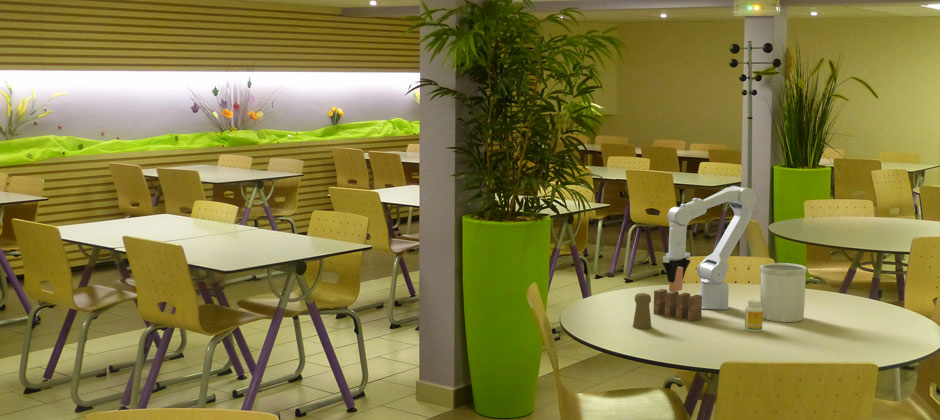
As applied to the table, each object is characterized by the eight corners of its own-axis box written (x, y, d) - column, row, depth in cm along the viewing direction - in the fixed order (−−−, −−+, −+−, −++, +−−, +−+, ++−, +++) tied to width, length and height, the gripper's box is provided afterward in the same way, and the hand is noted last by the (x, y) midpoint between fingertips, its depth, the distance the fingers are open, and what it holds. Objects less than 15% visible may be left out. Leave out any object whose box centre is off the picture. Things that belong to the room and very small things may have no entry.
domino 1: (666, 312, 339) (667, 289, 338) (658, 314, 335) (659, 291, 334) (661, 311, 340) (662, 288, 339) (653, 314, 337) (654, 290, 336)
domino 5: (701, 319, 329) (702, 295, 328) (693, 321, 326) (694, 297, 325) (696, 318, 331) (696, 294, 330) (688, 320, 327) (688, 296, 326)
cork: (652, 325, 320) (653, 292, 319) (650, 330, 314) (651, 296, 313) (634, 324, 322) (635, 291, 321) (631, 328, 316) (631, 294, 315)
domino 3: (677, 314, 336) (678, 291, 335) (669, 317, 332) (670, 293, 331) (672, 313, 337) (673, 290, 336) (664, 316, 333) (665, 292, 332)
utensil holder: (750, 317, 331) (752, 266, 329) (770, 310, 342) (772, 260, 340) (792, 325, 321) (794, 272, 319) (811, 317, 332) (814, 266, 330)
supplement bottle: (741, 328, 316) (742, 299, 315) (755, 327, 318) (756, 298, 317) (751, 332, 311) (752, 302, 310) (765, 331, 313) (766, 301, 312)
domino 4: (689, 316, 333) (690, 293, 332) (681, 319, 329) (682, 295, 328) (684, 315, 334) (685, 292, 333) (676, 318, 330) (677, 294, 329)
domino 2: (682, 289, 342) (683, 267, 341) (674, 291, 339) (675, 268, 338) (677, 289, 344) (678, 266, 343) (669, 290, 340) (670, 267, 339)
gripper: (678, 238, 347) (676, 276, 349) (655, 242, 337) (654, 281, 338) (696, 241, 343) (694, 279, 344) (674, 245, 332) (672, 284, 334)
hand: (675, 281), depth 341 cm, fingers closed on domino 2, 5 cm apart
